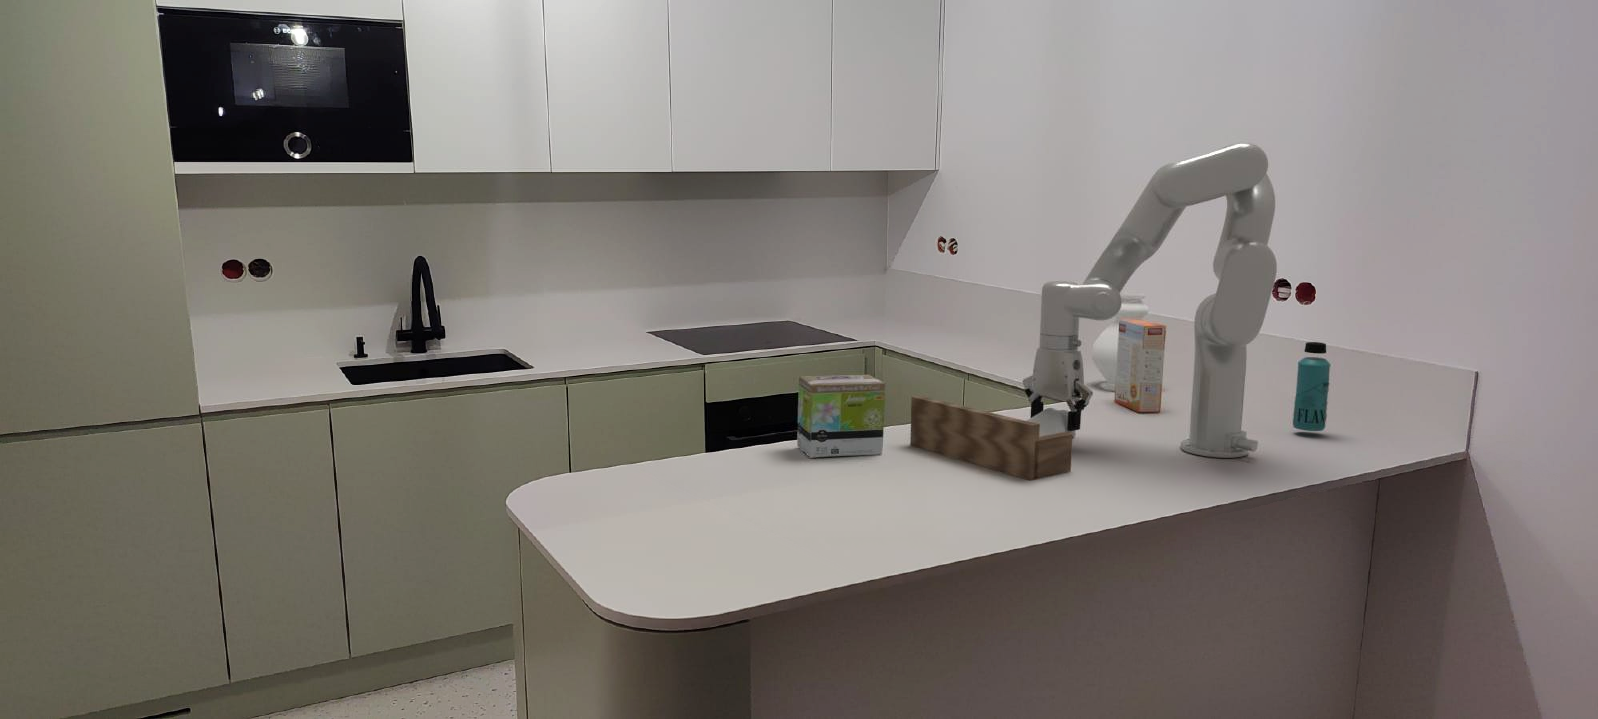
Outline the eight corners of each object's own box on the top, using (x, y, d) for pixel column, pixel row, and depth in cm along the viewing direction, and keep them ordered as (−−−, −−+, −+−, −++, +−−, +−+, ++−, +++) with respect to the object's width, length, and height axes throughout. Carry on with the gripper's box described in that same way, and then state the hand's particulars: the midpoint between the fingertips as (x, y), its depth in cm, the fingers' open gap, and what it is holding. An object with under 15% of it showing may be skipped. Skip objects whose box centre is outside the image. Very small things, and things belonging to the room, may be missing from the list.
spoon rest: (1052, 464, 197) (1053, 427, 196) (994, 455, 203) (995, 419, 202) (1091, 440, 216) (1092, 406, 215) (1037, 433, 223) (1038, 400, 222)
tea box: (810, 460, 198) (811, 384, 196) (796, 447, 208) (797, 375, 205) (884, 455, 202) (885, 380, 200) (867, 443, 212) (868, 372, 209)
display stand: (1070, 471, 191) (1073, 418, 189) (1029, 480, 184) (1032, 425, 183) (949, 437, 217) (951, 391, 215) (910, 445, 210) (911, 396, 209)
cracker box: (1162, 413, 243) (1167, 324, 240) (1137, 413, 242) (1142, 325, 239) (1136, 401, 257) (1141, 317, 253) (1113, 401, 256) (1118, 318, 253)
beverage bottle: (1290, 436, 220) (1298, 343, 217) (1292, 430, 226) (1299, 339, 223) (1324, 439, 217) (1333, 345, 214) (1325, 433, 223) (1333, 341, 220)
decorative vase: (1130, 380, 286) (1135, 290, 282) (1175, 391, 270) (1181, 296, 266) (1076, 384, 280) (1080, 292, 276) (1119, 396, 263) (1124, 298, 259)
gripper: (1105, 346, 204) (1101, 431, 206) (1038, 336, 218) (1035, 416, 220) (1080, 349, 199) (1076, 436, 202) (1013, 339, 213) (1010, 420, 216)
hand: (1054, 425), depth 211 cm, fingers open, 9 cm apart
